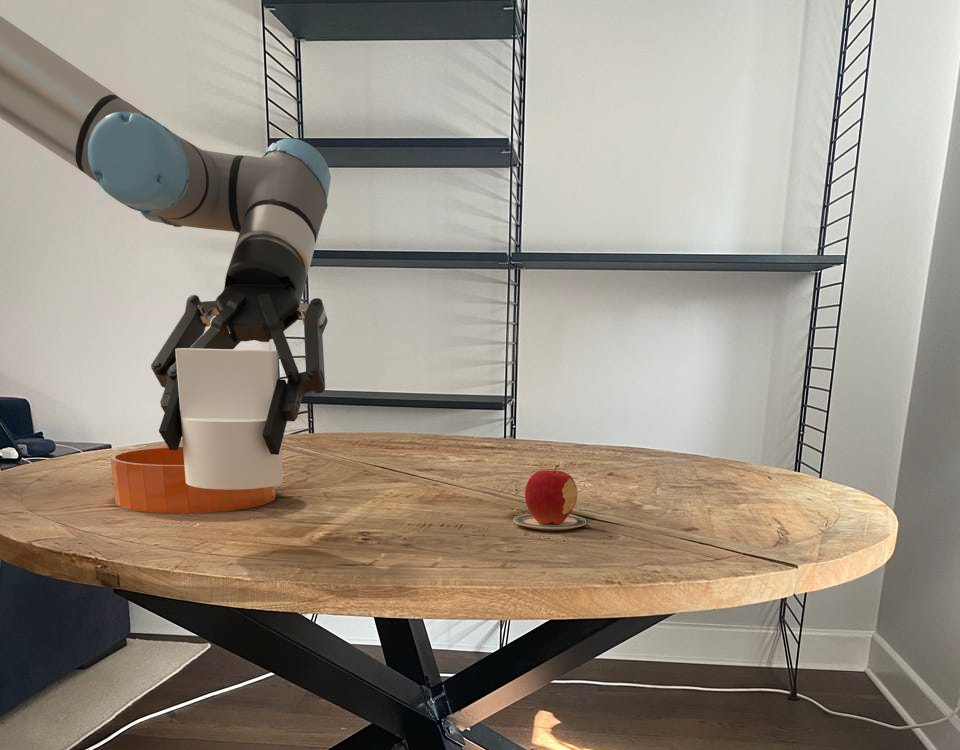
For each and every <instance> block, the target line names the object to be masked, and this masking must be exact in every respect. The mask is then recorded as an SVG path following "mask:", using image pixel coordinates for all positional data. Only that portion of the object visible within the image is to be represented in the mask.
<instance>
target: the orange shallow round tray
mask: <svg viewBox="0 0 960 750" xmlns="http://www.w3.org/2000/svg"><path fill="white" fill-rule="evenodd" d="M110 466H111V476H112V485H113V494H114V501H115V505H117V506H118V507H120V508H123V509H126V510H130V511H137V512H145V513H156V514H157V513H160V514H201V513H219V512H229V511H237V510H244V509H250V508H251V509H252V508H255V507H260V506H264V505H267V504H269V503H271V502H274V500H275V499H276V498H277V496H276V485H275V486H271V487H265V488H255V489H235V490H224V489H207V488H199V487H193V486H190V485H188V484H187V483H186V478H185V465H184V453H183V445H182V446H180V445H179V448H178V450H170V449H169V448H168V446H162V447H160V446H159V447H150V448H149V447H147V448H141V449H140V448H139V449H133V450H132V449H131V450H127V451H122V452H117V453H115V454H113V455H110Z"/></svg>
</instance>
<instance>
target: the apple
mask: <svg viewBox="0 0 960 750" xmlns="http://www.w3.org/2000/svg"><path fill="white" fill-rule="evenodd" d="M559 467H561V465H559V464H556V465H555V468H554V470H551V469H549V470H547V469H546V470H544V469H543V470H538V471H536V472H535V473H533V474H532V475H531V476H530V477H529V478H528V480H527V482H526V485H525V489H524V499H525V505H526V507H527V509H528V511H529V513H528V514H521V515H517V516H514V518H513V523H514V524H517V525H519V526H523V527H526V528H528V529H533V530H540V531H552V532H553V531H555V532H556V531H566V530H567V531H568V530H572V529H575V528H579V527H583V526H585V525H586V524H587V520H586V519H585V518H582V517H580V516H576V515H570V514H571V513H572V512H573V510H574V508H575V506H576V504H577V501H578V488H577V484H576V482H575V480H574V478H573V477H572V476H571V474H569V473H567V472H564V471H561V470H557V468H559Z"/></svg>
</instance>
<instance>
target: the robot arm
mask: <svg viewBox="0 0 960 750" xmlns="http://www.w3.org/2000/svg"><path fill="white" fill-rule="evenodd" d="M0 119H1V120H3V121H4V122H6V123H7V124H9V125H10V126H12V127H13V128H15V129H16V130H17V131H19V132H20V133H23V134H24V135H26V137H29V138H30V139H32V140H33V141H35V142H36V143H38V144H40V145H41V146H42V147H44V148H45V149H47V150H49V151H50V152H52V153H53V154H55V155H56V156H57V157H59V158H61V159H62V160H63V161H65V162H67V163H69V164H70V165H72V166H73V167H75V168H76V169H78V171H81V172H82V173H84V174H85V175H87V176H88V177H89V178H90V179H91V180H93V181H94V182H96V183H98V185H99V186H100V188H102V190H103V191H104V192H105V193H106V194H108V195H109V196H110V197H111V198H113V199H114V200H116V201H117V202H119V203H121V204H122V205H124V206H126V207H128V208H129V209H132V210H134V211H137V212H140V214H141V216H143V217H144V218H145V219H146V220H148V221H150V222H153V223H154V222H155V223H161V224H163V225H167V226H173V228H182V227H188V228H196V229H204V230H213V231H214V230H215V231H223V232H224V231H225V232H233V233H237V234H238V236H237V239H236V242H235V246H234V249H233V250H234V251H233V252H232V255H231V258H230V262H229V265H228V268H227V270H226V274H225V278H224V288H223V289H222V292H221V293H220V294H219V295H218V296H217V297H216V299H215V300H205V301H201V299H200V297H199V295H197V294H192V295H189V296H188V297H187V299H186V303H185V309H184V313H183V314H182V316H181V317H180V319H179V321H178V322H177V324H176V325H175V327H174V328H173V329H172V331H171V333H170V334H169V336H168V338H167V339H166V341H165V342H164V344H163V346H162V347H161V349H160V350H159V351H158V353H157V355H156V356H155V358H154V360H153V361H152V363H151V364H150V368H151V370H152V372H153V374H154V375H155V377H156V379H157V381H158V383H159V384H160V387H162V388H164V389H163V393H162V396H161V398H160V402H159V403H160V407H161V409H162V411H163V413H164V414H163V416H162V420H161V423H160V426H159V429H158V433H159V434H160V436H161V437H162V439H163V441H164V443H165V445H166V447H168V448H169V449H170V450H178V448H179V446H180V444H181V441H182V427H181V414H180V402H179V389H178V376H177V364H176V351H175V349H177V348H194V349H233V350H235V348H236V347H238V345H239V344H240V343H241V342H250V341H251V342H252V341H257V342H260V343H270V341H271V340H272V341H273V344H274V347H275V349H276V350H275V351H277V353H278V357H279V358H278V359H279V360H280V364H281V367H282V369H283V371H284V374H285V376H286V379H287V380H286V379H284V378H279V379H277V382H276V387H275V390H274V393H273V397H272V401H271V405H270V408H269V412H268V416H267V420H266V423H265V427H264V431H263V435H262V436H263V438H264V440H265V442H266V445H267V447H268V449H269V452H270V454H274V455H279V451H280V448H281V444H282V443H283V439H284V435H285V432H286V427H287V423H288V422H296V420H297V419H298V417H299V412H300V408H301V404H302V401H303V398H304V397H305V395H306V394H308V393H310V392H313V393H315V394H321V393H324V391H325V390H326V377H325V376H326V375H325V374H326V373H325V355H324V342H323V341H324V340H323V335H324V331H325V329H326V326H327V324H328V322H329V321H328V317H327V313H326V310H325V305H324V303H323V301H322V299H321V298H318V297H315V298H313V299H311V300H310V301H309V303H302V299H303V295H304V292H305V288H306V284H307V277H308V275H309V271H310V268H311V265H312V261H313V260H312V259H313V257H314V251H315V248H316V243H317V240H318V237H319V233H320V229H321V227H322V223H323V220H324V216H325V214H326V212H327V209H328V199H329V192H330V186H331V178H332V176H331V172H330V167H329V166H328V163H327V161H326V160H325V158H324V156H323V155H322V154H321V153H320V152H319V151H318V150H317V149H316V148H315V147H314V146H313V145H311V144H309V143H307V142H305V141H303V140H301V139H297V138H291V137H290V138H289V137H288V138H287V137H286V138H283V139H279V140H276V141H275V142H272V143H271V144H270V145H269V146H268V148H266V149H265V151H264V154H263V155H262V156H253V155H242V154H238V155H237V154H231V153H223V152H217V151H213V150H212V151H211V150H205V149H201V148H199V147H198V146H196V145H195V144H193V143H191V142H190V141H188V140H186V139H184V138H183V137H181V136H179V135H177V134H176V133H174V132H173V131H171V130H170V129H169V128H167V127H166V126H164V125H163V124H162V123H160V122H159V121H157V120H155V119H154V118H152V117H151V116H149V115H148V114H146V113H145V112H143V111H142V110H140V109H138V108H137V107H136V106H135V105H133V104H132V103H129V102H128V101H127V100H124V99H123V98H122V97H120V96H119V95H117V94H116V93H115V92H114V91H112V90H111V89H109V88H107V87H106V86H104V85H103V84H101V83H100V82H98V81H97V80H95V79H94V78H93V77H91V76H90V75H89V74H87V73H85V72H84V71H82V70H81V69H80V68H78V67H76V66H75V65H73V64H72V63H71V62H69V61H68V60H66V59H65V58H63V57H62V56H60V55H59V54H57V53H56V52H54V51H53V50H51V49H50V48H48V47H47V46H46V45H44V44H43V43H42V42H39V41H38V40H37V39H36V38H34V37H32V36H31V35H30V34H28V33H26V32H25V31H23V30H22V29H21V28H19V27H18V26H16V25H14V24H13V23H12V22H10V21H9V20H7V19H5V18H4V17H3V16H1V15H0ZM300 319H301V321H302V324H303V326H304V343H305V365H306V366H305V367H306V371H302V372H299V369H298V366H297V364H296V361H295V358H294V355H293V353H292V350H291V348H290V345H289V343H288V340H287V337H286V335H285V331H286V330H288V329H289V328H290V327H291V326H292V325H293V324H295V323H297V321H299V320H300ZM206 328H207V329H206Z"/></svg>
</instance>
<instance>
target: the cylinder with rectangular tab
mask: <svg viewBox="0 0 960 750" xmlns="http://www.w3.org/2000/svg"><path fill="white" fill-rule="evenodd" d="M175 351H176V364H177V376H178V389H179V402H180V414H181V427H182V438H181V441H182V446H183V453H184V465H185V478H186V483H187V484H188V485H190V486H193V487H199V488H207V489H224V490H235V489H255V488H265V487H271V486H275V487H276V486H278V485H282V484H283V483H284V470H283V466H284V465H283V448H282V444H281V448H280V451H279V455H274V454H270V452H269V449H268V447H267V445H266V442H265V440H264V438H263V436H262V435H263V431H264V427H265V423H266V420H267V416H268V412H269V408H270V405H271V401H272V397H273V393H274V390H275V387H276V382H277V379H280V376H279V358H278V357H279V355H278V352H277V350H272V349H271V350H269V349H267V350H266V349H194V348H177V349H175Z"/></svg>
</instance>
